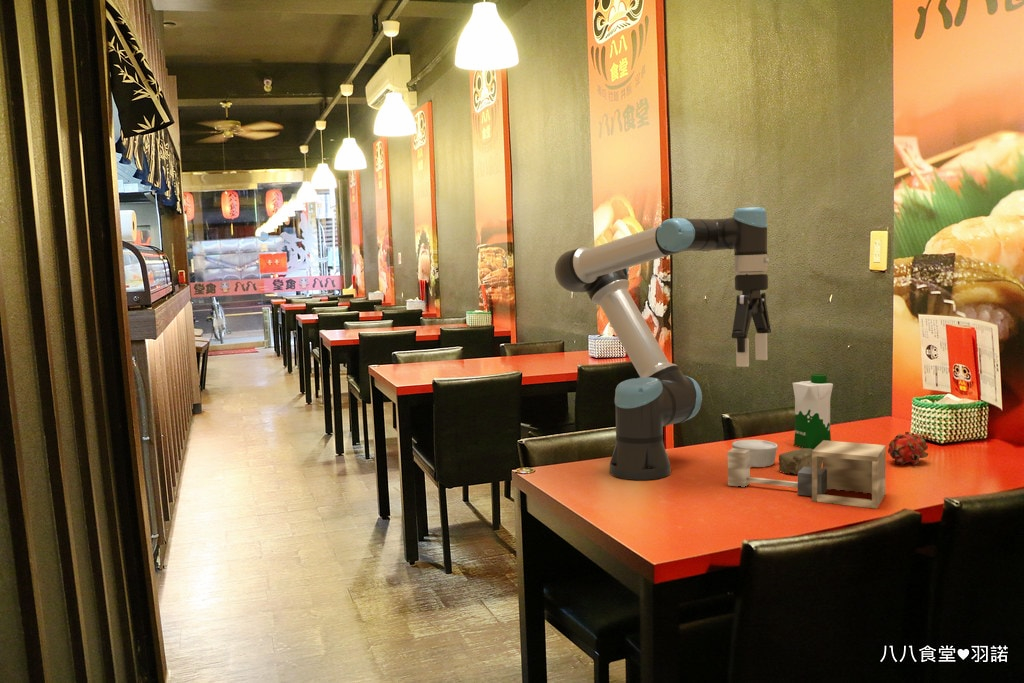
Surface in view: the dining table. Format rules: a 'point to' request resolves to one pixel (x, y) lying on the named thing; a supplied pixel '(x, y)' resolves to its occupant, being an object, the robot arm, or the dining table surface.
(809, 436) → the milk carton
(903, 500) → the dining table surface
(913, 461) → the dragon fruit
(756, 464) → the ramekin
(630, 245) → the robot arm
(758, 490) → the dining table surface
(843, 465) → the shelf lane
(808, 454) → the stone block
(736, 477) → the tethered block
